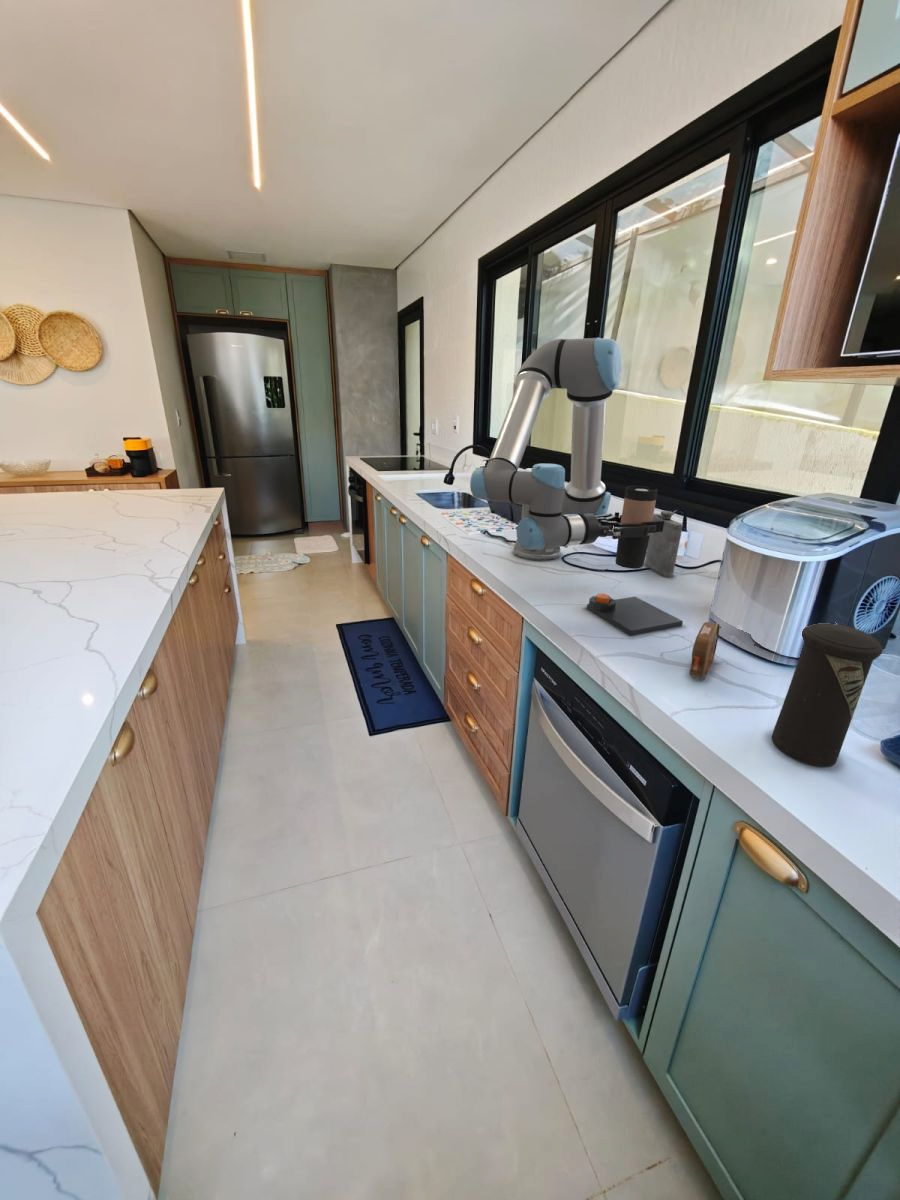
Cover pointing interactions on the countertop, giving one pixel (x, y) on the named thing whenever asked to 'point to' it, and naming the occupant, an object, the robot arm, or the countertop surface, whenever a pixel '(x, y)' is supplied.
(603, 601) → the tare button
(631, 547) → the travel mug
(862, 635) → the container
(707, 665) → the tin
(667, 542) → the flask
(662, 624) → the scale
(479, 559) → the countertop surface
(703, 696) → the countertop surface
